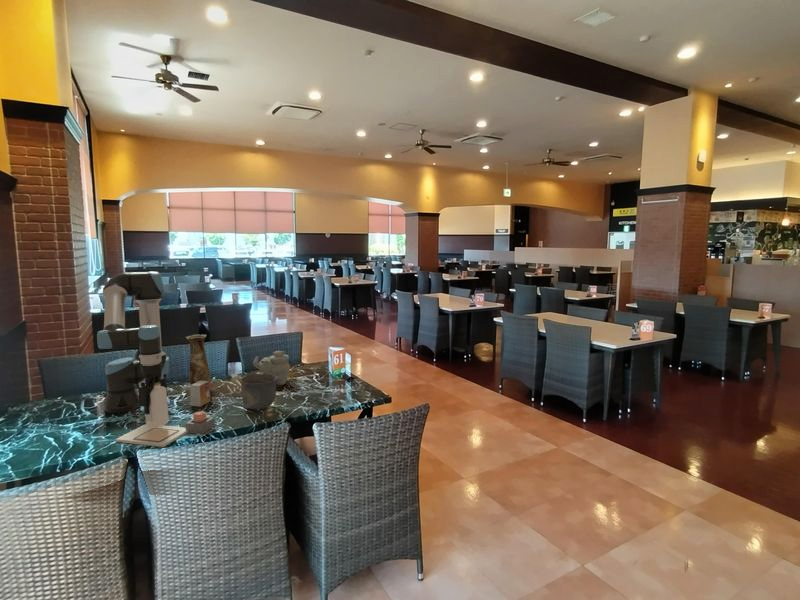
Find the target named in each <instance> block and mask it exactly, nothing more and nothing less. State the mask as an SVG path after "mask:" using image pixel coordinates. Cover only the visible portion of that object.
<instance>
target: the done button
mask: <svg viewBox="0 0 800 600" xmlns="http://www.w3.org/2000/svg"><path fill="white" fill-rule="evenodd" d="M192 416H193V418H192V419H193V422H194V423H203V422H205V421H206V417H207V412H206V411H205V410H204V411H202V410H201V411H196V412H194V413H193V414H192Z"/></svg>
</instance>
